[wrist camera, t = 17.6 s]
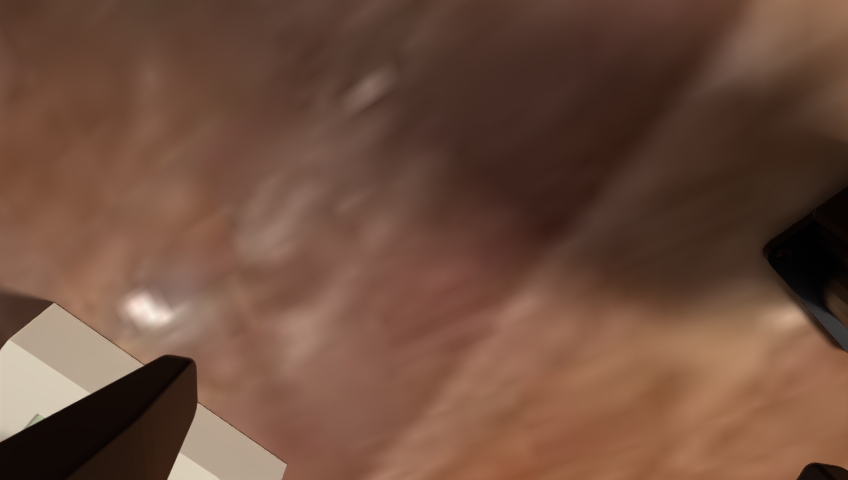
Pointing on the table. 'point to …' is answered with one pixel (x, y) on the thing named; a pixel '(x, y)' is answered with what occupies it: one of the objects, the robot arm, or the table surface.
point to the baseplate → (94, 369)
